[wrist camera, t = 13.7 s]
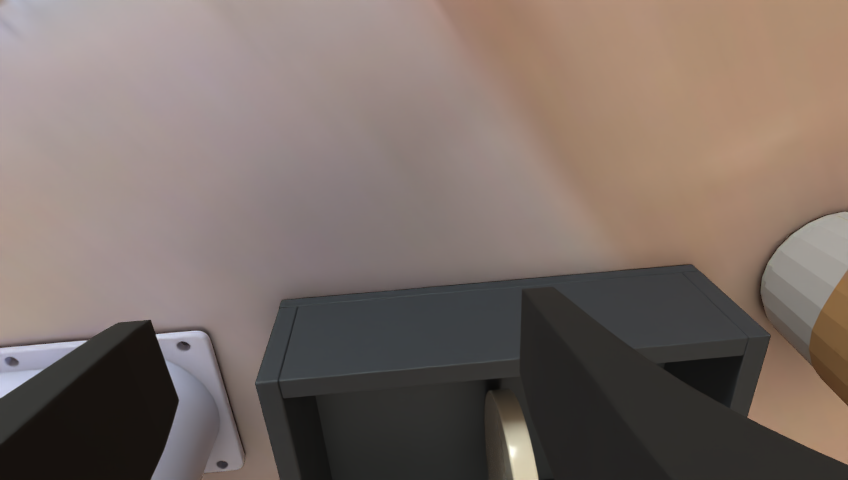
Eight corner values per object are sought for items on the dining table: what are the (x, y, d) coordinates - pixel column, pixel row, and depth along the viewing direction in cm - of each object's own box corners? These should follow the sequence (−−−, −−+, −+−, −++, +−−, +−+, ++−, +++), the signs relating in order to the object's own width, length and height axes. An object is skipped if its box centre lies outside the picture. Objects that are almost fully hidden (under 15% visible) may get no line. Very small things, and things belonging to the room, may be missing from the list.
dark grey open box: (324, 502, 27) (312, 606, 23) (281, 299, 22) (253, 383, 17) (652, 468, 28) (705, 563, 23) (692, 263, 22) (771, 335, 18)
